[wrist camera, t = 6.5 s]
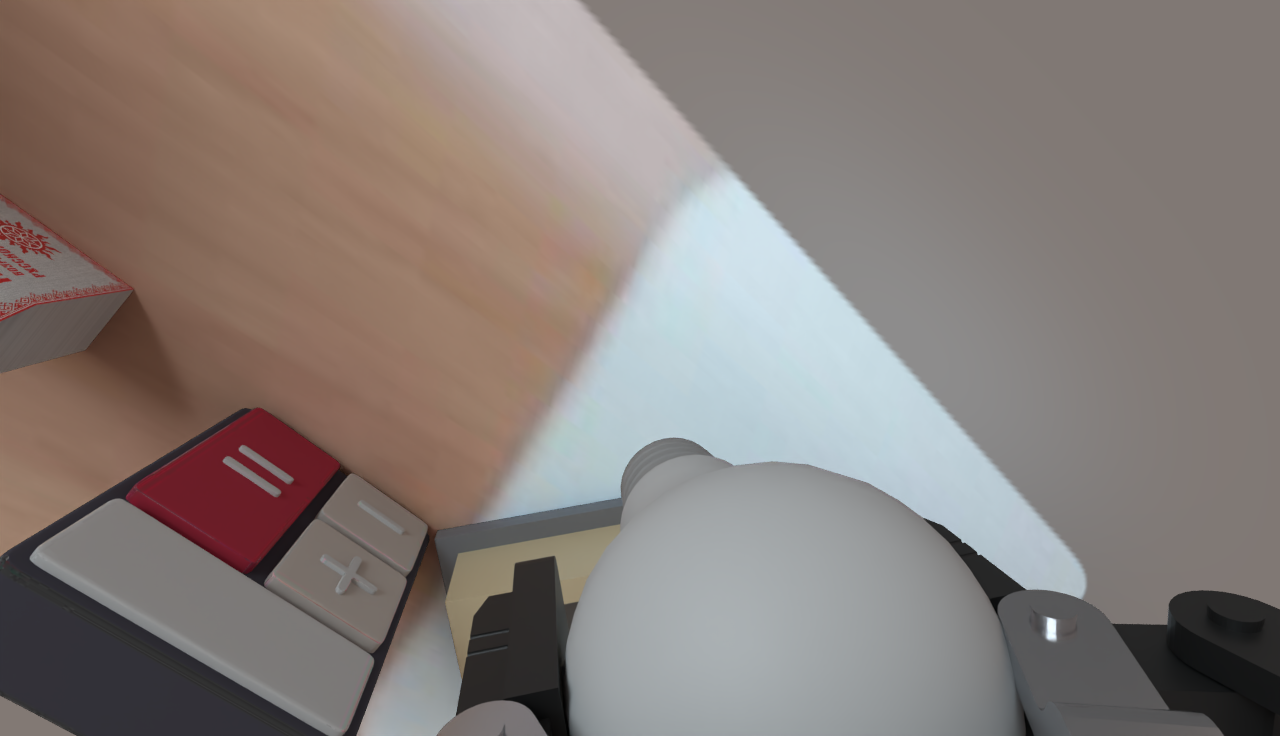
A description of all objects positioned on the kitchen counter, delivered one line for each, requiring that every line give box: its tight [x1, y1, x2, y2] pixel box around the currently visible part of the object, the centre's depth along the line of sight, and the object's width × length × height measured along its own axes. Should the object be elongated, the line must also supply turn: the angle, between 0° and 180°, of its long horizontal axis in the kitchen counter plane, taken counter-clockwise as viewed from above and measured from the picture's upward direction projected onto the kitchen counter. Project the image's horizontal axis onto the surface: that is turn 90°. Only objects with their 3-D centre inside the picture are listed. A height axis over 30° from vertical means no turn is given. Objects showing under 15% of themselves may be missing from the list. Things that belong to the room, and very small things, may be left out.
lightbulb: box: [562, 438, 1026, 736], centre depth 12 cm, size 6×6×11 cm
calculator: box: [0, 408, 430, 736], centre depth 26 cm, size 11×4×15 cm, turn 48°
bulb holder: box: [435, 498, 623, 679], centre depth 34 cm, size 12×12×6 cm
